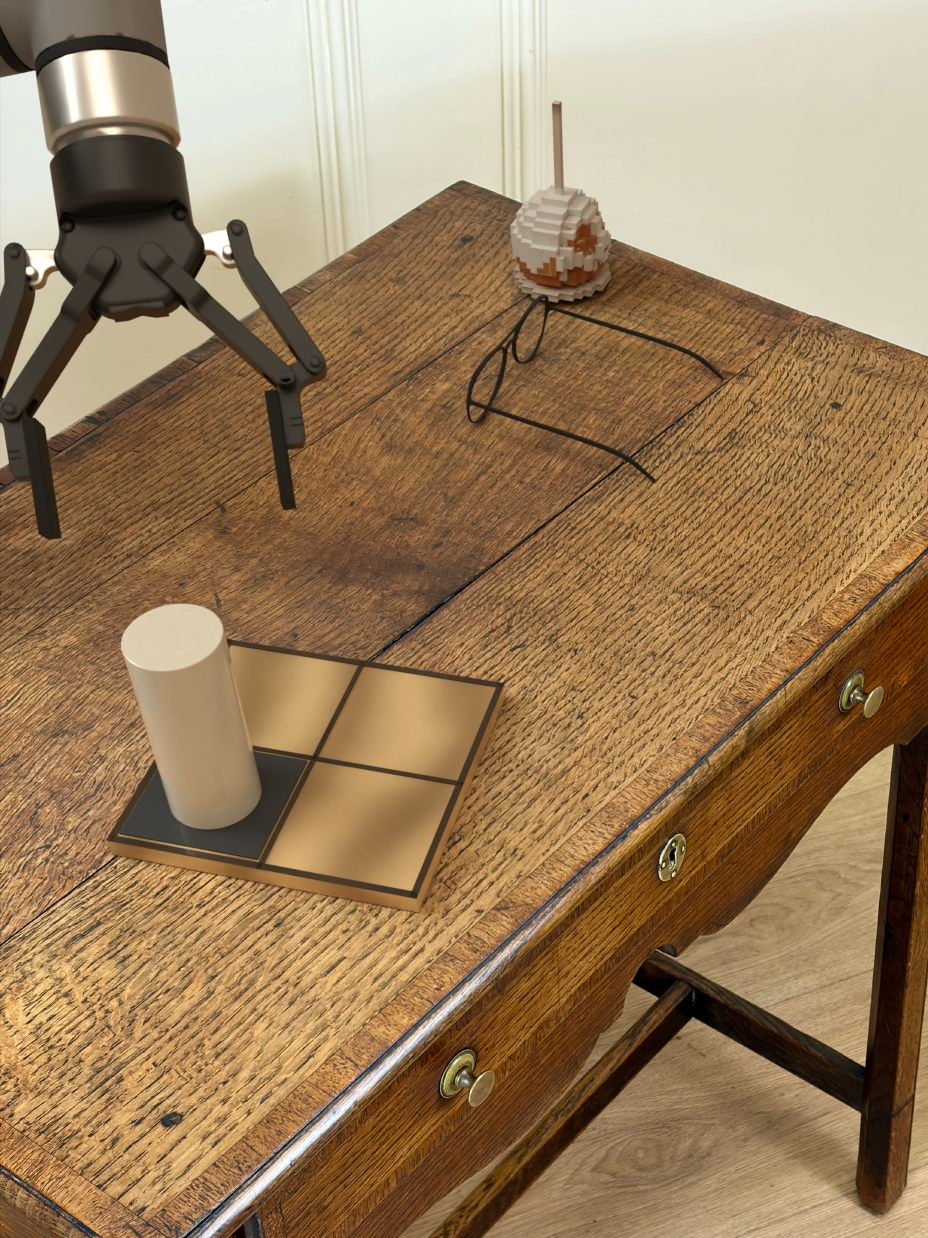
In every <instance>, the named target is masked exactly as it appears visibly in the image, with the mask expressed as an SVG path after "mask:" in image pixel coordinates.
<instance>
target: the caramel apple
mask: <svg viewBox="0 0 928 1238" xmlns="http://www.w3.org/2000/svg"><path fill="white" fill-rule="evenodd" d="M562 106H563V105H562V101H561V100H553V102H552V103H551V111H552V112H551V115H552V116H551V118H552V142H553V143H552V147H553V148H552V149H553V150H552V151H553V177H554V178H553V182H554V184H551V185H550V186H549V187H548V188H547V189H544V190H543V189H538V190H537V191H536V192H535V194H532V195H531V196H530V198H529V199H528V200H526V201H524V203H523V204H522V205H521V207H519V209H518V210H517V212H516V213H515V216H516V217H515V218H514V220H513V221H512V222H511V224H510V227H509V228H510V245H511V247H510V248H511V252H512V253H511V254H512V259H514V260H516V265H515V266H514V267H513V268H512V276H513V284H515V285H517V289H521V293H522V294H529V295H531V299H533V300H535V299H536V298H537V297H538V296H540V295H543V294H544V295H546V296H548V299H549V302H551V303H552V302H553V303H559V301H560V300H563V301H567V302H574V300H575V299H579V300H582V299H584V297H587V298H588V297H589V298H591V297H592V296H593V294H594V293H595V292H596V291H597V292H603V290H604V289H605V288H606V286H607V285H608V283H609V282H610V280H611V279H612V272H611V271H610V263H606V261H607V259H608V258H609V256H610V254H609V253H610V252H609V251H610V249H611V247H612V233H610V232H609V230H608V229H606V222H605V221H604V220H603V217H602V212H601V211H600V210H599V201H598V200H597V198H596V197H591V196H587V195H586V192H584V190H583V188H575V187H570V186H565V180H564V179H565V178H564V176H565V175H564V145H563V144H564V143H563V113H562V112H563V108H562ZM541 301H545V299H542V300H541Z"/></svg>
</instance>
